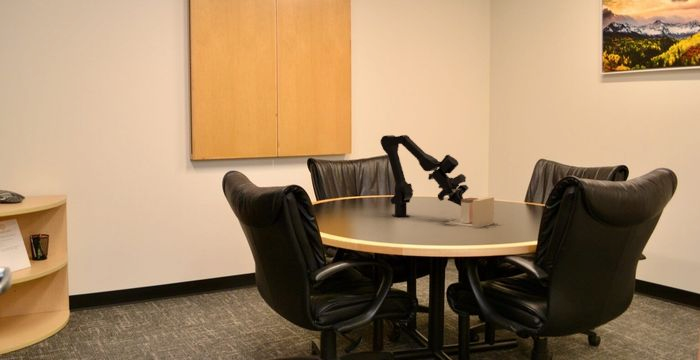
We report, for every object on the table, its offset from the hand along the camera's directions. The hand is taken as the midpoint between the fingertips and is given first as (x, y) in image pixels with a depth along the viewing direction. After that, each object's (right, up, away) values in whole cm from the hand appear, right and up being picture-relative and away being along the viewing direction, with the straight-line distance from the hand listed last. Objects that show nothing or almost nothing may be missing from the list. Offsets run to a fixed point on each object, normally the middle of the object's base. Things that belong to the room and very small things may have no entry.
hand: (465, 206), depth 279 cm
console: (+2, -7, -1) cm, 8 cm away
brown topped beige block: (+2, -7, -1) cm, 8 cm away
